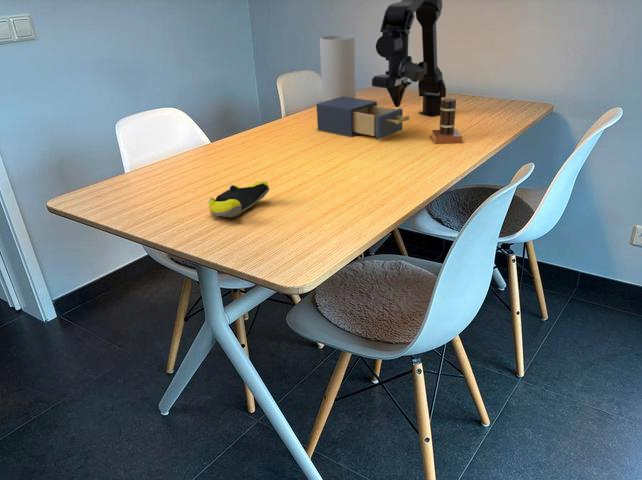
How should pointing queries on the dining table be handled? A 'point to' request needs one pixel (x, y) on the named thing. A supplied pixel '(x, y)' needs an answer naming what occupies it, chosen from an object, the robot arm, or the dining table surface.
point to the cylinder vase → (337, 66)
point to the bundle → (447, 116)
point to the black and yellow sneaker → (237, 199)
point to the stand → (446, 137)
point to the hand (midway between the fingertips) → (397, 106)
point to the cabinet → (340, 114)
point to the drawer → (378, 121)
